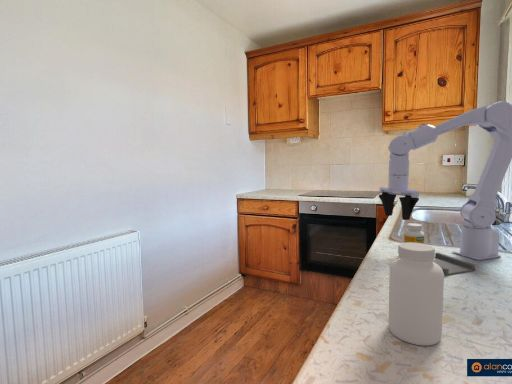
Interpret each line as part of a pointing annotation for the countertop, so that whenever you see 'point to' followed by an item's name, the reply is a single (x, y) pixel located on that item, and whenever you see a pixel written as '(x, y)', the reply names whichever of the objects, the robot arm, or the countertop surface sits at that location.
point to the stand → (452, 264)
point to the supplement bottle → (414, 233)
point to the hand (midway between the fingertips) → (397, 217)
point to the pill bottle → (416, 295)
